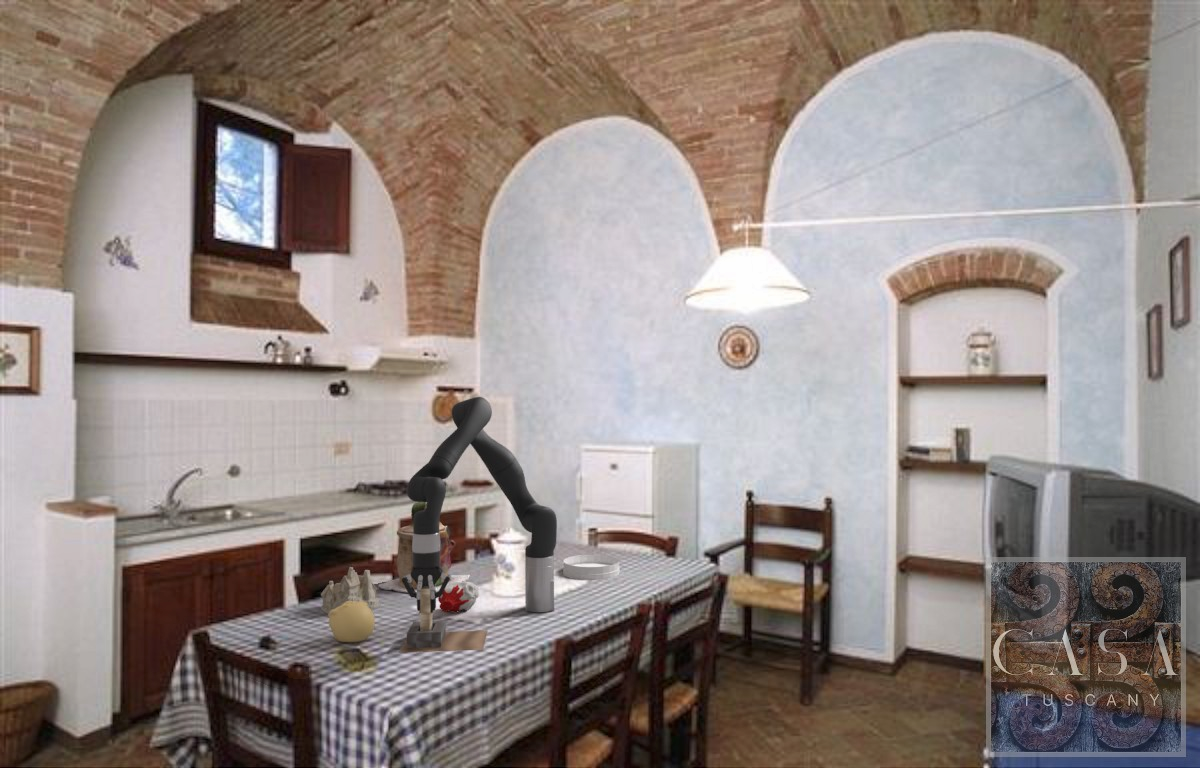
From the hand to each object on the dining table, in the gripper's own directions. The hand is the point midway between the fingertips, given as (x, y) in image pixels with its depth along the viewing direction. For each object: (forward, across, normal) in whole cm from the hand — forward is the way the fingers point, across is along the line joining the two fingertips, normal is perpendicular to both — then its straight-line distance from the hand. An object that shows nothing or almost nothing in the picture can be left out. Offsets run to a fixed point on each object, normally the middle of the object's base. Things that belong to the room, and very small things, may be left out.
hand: (426, 611), depth 203 cm
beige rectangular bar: (+5, 0, 0) cm, 5 cm away
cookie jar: (+10, +11, -68) cm, 70 cm away
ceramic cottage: (+10, +30, -41) cm, 52 cm away
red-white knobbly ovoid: (+10, -4, -34) cm, 35 cm away
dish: (+10, -51, -81) cm, 96 cm away
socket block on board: (+10, -5, 0) cm, 11 cm away
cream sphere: (+10, +22, -8) cm, 25 cm away
